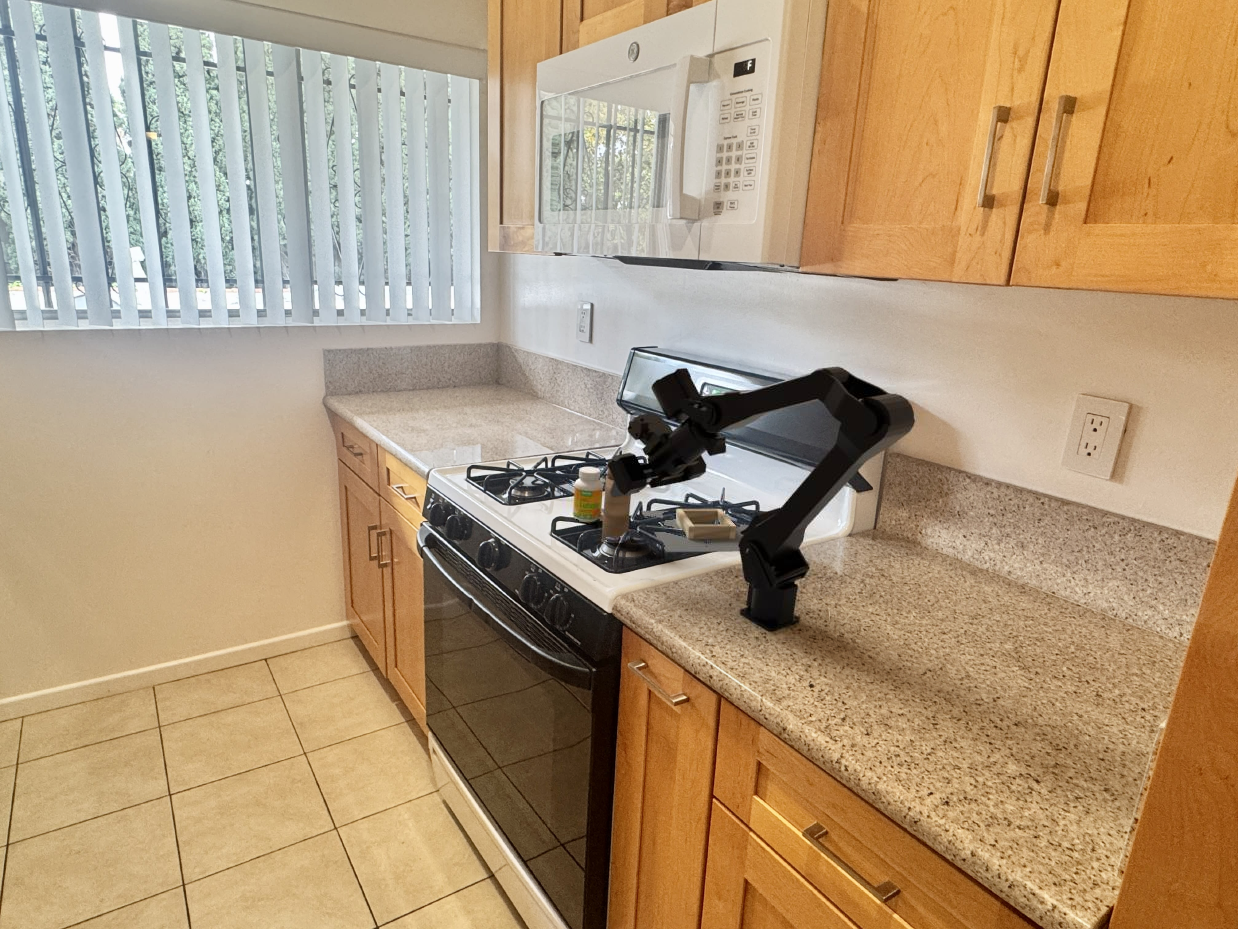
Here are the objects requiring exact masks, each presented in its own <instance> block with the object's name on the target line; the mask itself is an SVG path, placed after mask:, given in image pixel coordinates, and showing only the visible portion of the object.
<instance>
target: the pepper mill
mask: <svg viewBox="0 0 1238 929" xmlns="http://www.w3.org/2000/svg"><path fill="white" fill-rule="evenodd" d="M607 468H608V469H607V474H606V476H605V486H604V487H605V488H604V497H603V498H604V499H603V516H602V518H603V519H602V528H601V529H602V531H601V543H602V542H604V540H605V538H606V537H610V538H619V537H620V536H622V535H623V534H624V533H625V532H626V531H628V532H629V524H630V523H629V522H630V513H631V512H630V509H631V500H632V498H631V497H632V494H630V495H624V496H619V497H612V496H611V494H610V490H611V488H612V485H613V483H614V478H613V476H612V474H611V472H610V469H609V467H608V466H607Z"/></svg>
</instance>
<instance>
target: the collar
mask: <svg viewBox="0 0 1238 929" xmlns="http://www.w3.org/2000/svg"><path fill="white" fill-rule="evenodd" d="M675 511H676V519H675V521H676V523H677V524H678V526H679V527H680V529H682V530H683V531H684V532H685V534H686V537H687V539H708V538H709V539H735V534H736V525H735V524H734V523H733V522H732V521H731V519H730V518H729V517H728V516H727V515H726V514H725V513H724V512H723V511H724V510H723V509H722V508H676V509H675ZM716 519H718V521H719V522H720V524H692V523H712V522H713V521H714V520H716Z"/></svg>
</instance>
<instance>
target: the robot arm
mask: <svg viewBox="0 0 1238 929" xmlns="http://www.w3.org/2000/svg"><path fill="white" fill-rule="evenodd" d="M650 389H651V391H652V393H653V394H654V397H655V398H656V401H657V402H658V404H659V406H660V408H661V410H662V412H663V414H664V416H665V417H666V419H667V421H670V420H674V421H675V422H676V423H680V424H679V425H678V426H677V427H676V428H674V430H673V429H672V426H670V424H668V423H667V421H666V420H664V418H662V416H661V415H659V414H658V413H655V412H650V413H642V414H639V415H637V416H634V417H633V418H632V420H629V422H628V425H627V433H628V434H629V435H630V437H632V438H633V439H634V440H635V441H637V440H639V441H640V442H641V443H642V444H643V445H645V446H643V448H642V449H641V450H642V451H643V454H644V455H645V456H647V463H643V464H640V462H639V460H638V457H637V456H636V454H635V453H632V452H627V453H621V454H615V455H614V456H612V457H611V458H610V459H609V460H608V461H607V468H608V467H609V469H610V472H611V474H612V476H613V478H614V483H613V485H612V488H611V490H610V494H611V496H612V497H619V496H624V495H630V494H631V495H633V494H634V495H635V494H638V493H640V491H642V490H644V489H645V488H647V486H648V485H649V487H650V488H651V489H654V488H655V489H656V488H660V487H663V486H669V485H673V484H675V485H676V484H679V483H684V482H688V481H692V480H694V479H698V478H700V477H701V476H703V475H704V474H706V472H707V463H706V461H705V459H704V458H703V456H702V455H703V454H704V453H705V452H706V453H707V455H708V456H709V457H712V456H716V455H718V456H719V455H722V454H725V453H727V444H726V440H727V437H725V436H722V434H721V433H720V432H727V431H732V430H733V431H734V430H738V429H741V428H744V427H746V426H748V425H750V424H752V423H754V422H755V421H757V420H759V419H760V418H761V417H763V416H765V415H767V414H770V413H775V412H777V411H778V412H779V411H781V410H785V409H789V408H790V409H791V408H793V407H797V406H801V405H806V404H808V403H813V402H817V401H820V402H822V404H823V405H824V406H825V408H826V409H827V410H828V412H829V414H830V415H831V417H833V418H834V419H835V420H837V421H838V422H839V423H840V424H839V426H838V430H837V434H836V437H835V438H836V440H835V442H834V444H833V446H832V447H831V448H830V450H828V452H827V453H826V455H825V456H823V457H822V459H821V460H820V461H819V463H818V464H817V465H816V466H815V467H814V468H813V469H812V471H811V472H810V473H809V474H808V475H807V476H806V478H805V479H804V480H803V481H802V482H801V483H800V484H799V486H798V487H797V488H796V489H795V491H794V492H793V493H792V494H791V495H790V497H789V498H788V499H787V500H786V501H785V502H784V503H783V505H781V507H777V508H774V509H771V510H768V511H765V512H761V513H758V514H755V515H754V517H752V519H751V520H750V522H749V526H748V527H747V528H746V529H745V530H743V531H741V532H740V533H741V534H742V535H743V536H742V537H741V539H740V541H739V544H738V547H739V550H740V551H739V554H740V561H741V566H742V571H743V573H742V574H743V577H744V581H745V582H746V583H748V589H747V596H746V603H745V606H746V607H743V608H741V609H740V610H739V614H740V615H741V616H744V617H745V618H747V619H748V620H750V621H752V622H754V623H755V624H757V625H758V626H760V627H762V628H763V629H765V630H767V631H769V632H774V631H777V630H779V629H782V628H785V627H788V626H791V625H793V624H797V623H799V622H800V621H801V618H800V617H799V616H798V615H796V614H795V608H796V602H797V596H798V590H799V585H798V584H797V583H796V582H795V581H799V580H800V579H805V578H806V576H807V574H808V572H809V571H810V570H811V569H810V565H809V563H808V562H807V560H806V558H805V556H804V554H803V552H802V551H801V549H800V547H801V545H802V544H803V543H804V539H805V538H804V537H805V533H806V530H807V528H808V526H809V525H811V523H812V522H813V521H814V520H815V519H816V517H817V516H818V515H819V514H820V513H821V512H822V511H823V510H824V509H825V507H827V505H828V504H830V502H831V501H832V500H833V499H834V498H835V497H836V495H837V494H838V493H839V492H840V491H841V490H842V489H843V488H844V486H845V485H846V484H847V483H848V482H849V481H850V480H851V479H852V478H853V476H855V475H856V473H858V471H859V470H861V469H862V467H863V466H864V465H865V463H866V462H868V461H869V460H870V459H873V458H874V457H876V456H877V455H878V454H880V453H882V452H884V451H885V450H886V449H888V448H890V447H892V446H893V445H894V444H895V443H897V442H898V441H900V440H901V439H902V438H904V437H905V436H906V435H909V433H910V432H911V430H912V429H913V428H914V425H915V422H916V420H915V411H914V408H913V406H912V404H911V403H910V402H909V400H908V399H907V398H905V397H904V396H903V395H901V394H897V393H889V392H887V391H886V390H885V389H883V388H881V387H879V386H878V385H876V384H874V383H871V382H869V381H866V380H864V379H862V378H860V377H857V376H855V375H854V374H853V373H851V372H850V371H848V370H847V369H844V368H843V367H841V366H830V367H822V368H821V367H820V368H816V369H815V370H813V371H811V372H810V373H805V374H803V375H799V376H796V377H792V378H789V379H786V380H782V381H778V382H775V383H772V384H767V385H765V386H761V387H758V388H755V389H744V390H743V389H742V390H732V391H726V392H725V391H724V392H717V393H708V394H706V395H701V394H700V392H699V391H698V389H697V387H696V385H695V383H694V381H693V379H692V376H691V373H690V371H689V370H688V368H687V367H681V368H676V370H674V372H671V373H668V374H666V375H664V376H663V377H661V378H659V379H656V380H655V381H654V382H653V383H652V385H651V388H650ZM681 422H682V423H681ZM648 480H650V481H649V482H647V481H648ZM647 483H648V484H647Z"/></svg>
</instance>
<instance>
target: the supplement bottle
mask: <svg viewBox="0 0 1238 929" xmlns="http://www.w3.org/2000/svg"><path fill="white" fill-rule="evenodd" d="M578 477H579V478H578V479H576V480H575V482H574V493H573V511H572V517H573V518H574V520H576V519H578V520H579V521H578V520H577V521H578V522H582V523H594V522H597V521H598V520H599V519H600V518H601V517H602V505H603V491H604V483H603V481H602V480H600V477H601V470H600V469H599V468H598V467H595V466H583V467H580V468H579V470H578Z"/></svg>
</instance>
